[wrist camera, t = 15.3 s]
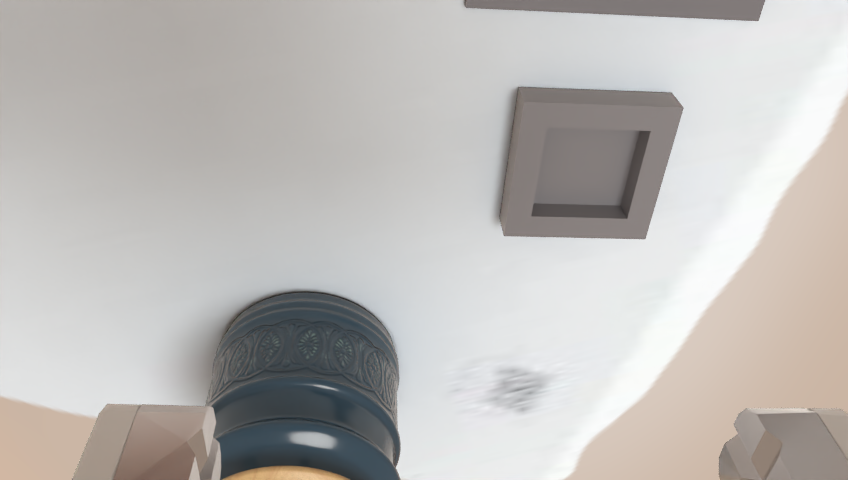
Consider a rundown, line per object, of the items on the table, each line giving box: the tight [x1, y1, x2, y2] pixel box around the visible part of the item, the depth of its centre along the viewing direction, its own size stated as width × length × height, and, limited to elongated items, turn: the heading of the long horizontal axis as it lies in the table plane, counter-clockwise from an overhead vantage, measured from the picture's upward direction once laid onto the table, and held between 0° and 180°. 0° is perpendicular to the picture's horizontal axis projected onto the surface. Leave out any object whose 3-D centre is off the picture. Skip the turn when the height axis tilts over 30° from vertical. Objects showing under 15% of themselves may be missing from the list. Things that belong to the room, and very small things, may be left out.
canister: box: [205, 293, 400, 480], centre depth 46 cm, size 13×13×18 cm
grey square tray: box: [500, 87, 683, 239], centre depth 43 cm, size 9×9×2 cm
